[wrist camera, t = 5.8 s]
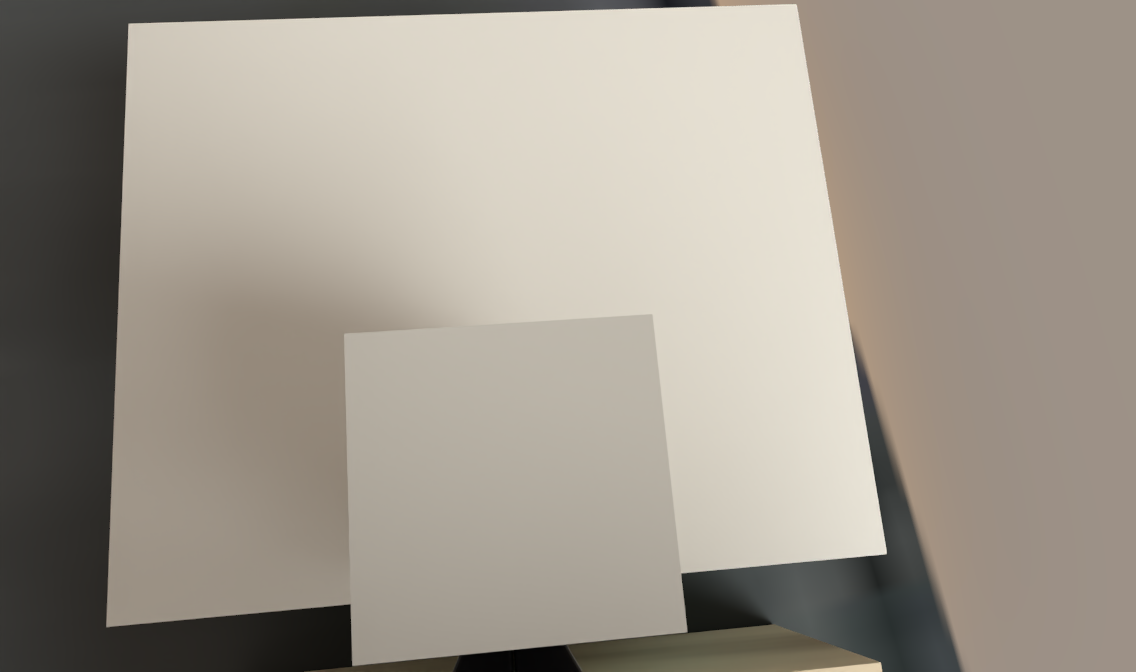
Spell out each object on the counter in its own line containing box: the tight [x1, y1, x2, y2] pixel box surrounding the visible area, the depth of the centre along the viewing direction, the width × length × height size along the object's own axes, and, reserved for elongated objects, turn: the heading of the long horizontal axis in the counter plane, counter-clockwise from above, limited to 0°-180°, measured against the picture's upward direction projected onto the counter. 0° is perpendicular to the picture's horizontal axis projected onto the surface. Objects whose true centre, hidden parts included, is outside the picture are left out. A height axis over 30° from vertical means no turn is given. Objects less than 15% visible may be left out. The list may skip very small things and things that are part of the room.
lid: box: [106, 4, 887, 666], centre depth 11 cm, size 10×12×7 cm
